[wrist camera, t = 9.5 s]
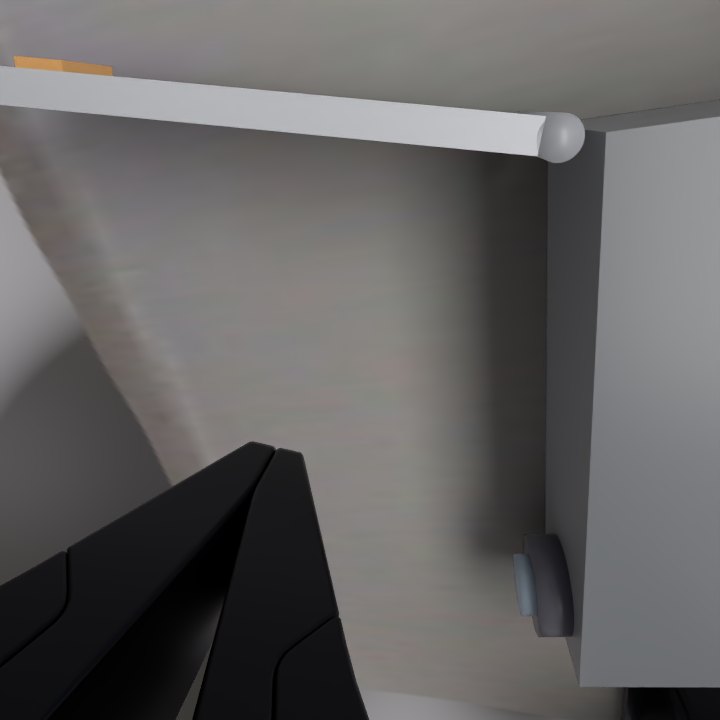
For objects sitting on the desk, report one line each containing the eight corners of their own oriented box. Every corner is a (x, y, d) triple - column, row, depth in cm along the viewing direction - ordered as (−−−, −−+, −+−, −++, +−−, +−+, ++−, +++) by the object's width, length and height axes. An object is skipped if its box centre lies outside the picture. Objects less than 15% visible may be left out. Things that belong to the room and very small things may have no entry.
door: (88, 106, 17) (-32, 106, 12) (83, 65, 16) (-44, 49, 12) (532, 148, 16) (577, 165, 12) (541, 107, 16) (592, 106, 11)
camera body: (794, 558, 22) (925, 713, 16) (508, 566, 24) (536, 709, 18) (924, 70, 15) (1240, 48, 9) (494, 132, 16) (534, 145, 11)
